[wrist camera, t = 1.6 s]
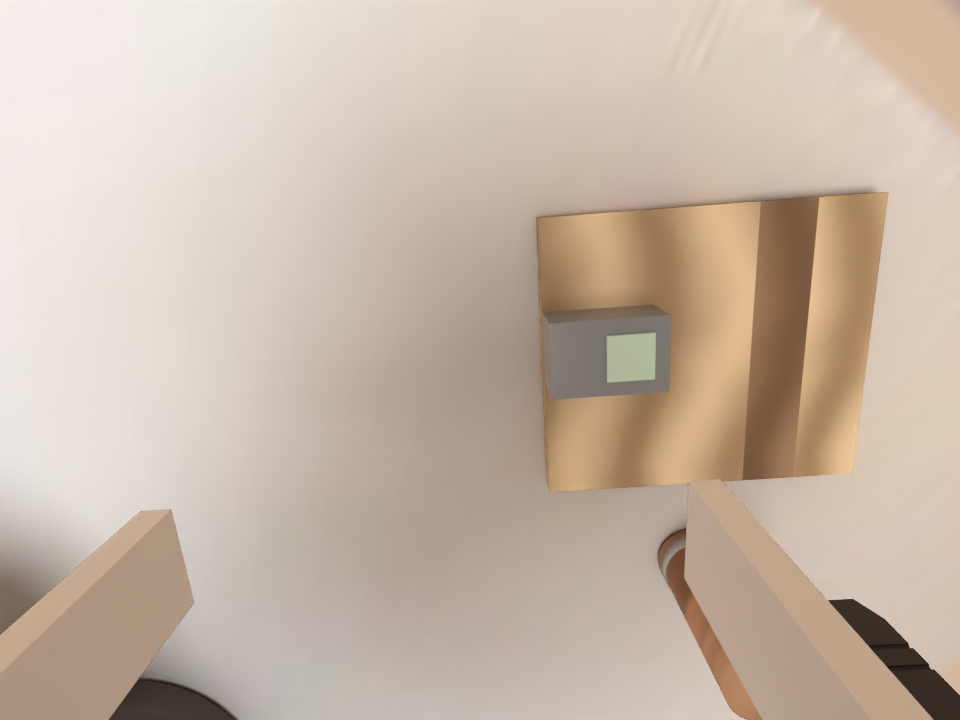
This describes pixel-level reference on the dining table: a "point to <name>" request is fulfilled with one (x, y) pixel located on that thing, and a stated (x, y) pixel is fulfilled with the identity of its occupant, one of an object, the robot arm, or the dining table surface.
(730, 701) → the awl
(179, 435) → the dining table surface
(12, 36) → the dining table surface
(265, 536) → the dining table surface
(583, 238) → the board
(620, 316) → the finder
